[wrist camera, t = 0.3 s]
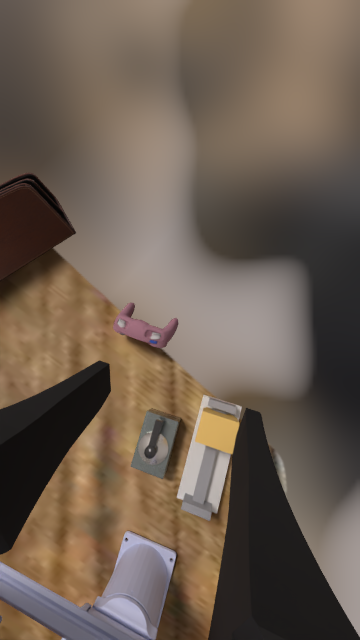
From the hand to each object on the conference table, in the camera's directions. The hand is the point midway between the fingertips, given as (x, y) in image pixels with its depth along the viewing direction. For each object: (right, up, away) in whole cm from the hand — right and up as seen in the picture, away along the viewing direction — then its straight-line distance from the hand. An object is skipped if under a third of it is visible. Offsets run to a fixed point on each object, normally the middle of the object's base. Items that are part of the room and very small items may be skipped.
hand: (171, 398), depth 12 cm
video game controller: (-5, +3, +31) cm, 31 cm away
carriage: (+6, -12, +25) cm, 28 cm away
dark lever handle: (-3, -13, +23) cm, 27 cm away
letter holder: (-31, +20, +38) cm, 53 cm away
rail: (+5, -16, +25) cm, 30 cm away
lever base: (-3, -15, +26) cm, 30 cm away
